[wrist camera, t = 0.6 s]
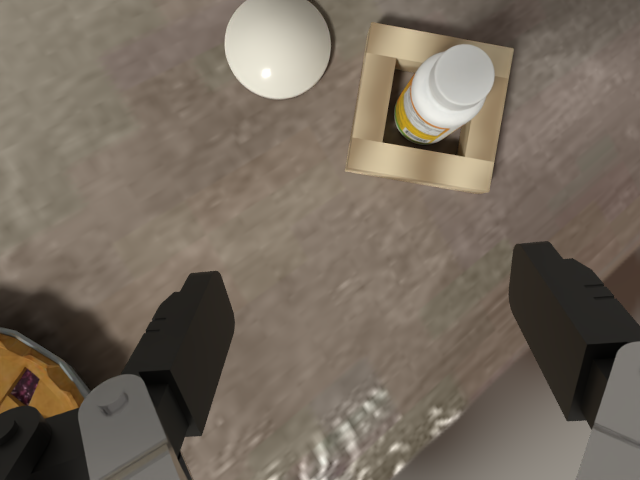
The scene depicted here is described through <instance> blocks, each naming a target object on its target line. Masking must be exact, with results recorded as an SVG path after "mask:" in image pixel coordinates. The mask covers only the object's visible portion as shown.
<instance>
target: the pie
mask: <svg viewBox="0 0 640 480" xmlns="http://www.w3.org/2000/svg"><path fill="white" fill-rule="evenodd" d="M90 392H91V391H90V390H89V388H88V387H87V386H86V385H85V383H84V382H83V381H82V380H81V378H80V377H79V376H78V375H77V373H76V372H75V371H74V369H73V368H72V367H71V366H70V365H69V364H67V363H66V362H65V361H64V360H63V359H61V358H59V357H58V356H56V355H55V354H53V353H51V352H50V351H48V350H46V349H45V348H43V347H42V346H40V345H38V344H37V343H35V342H33V341H32V340H30V339H29V338H27V337H25V336H24V335H22V334H21V333H19V332H17V331H15V330H11V329H6V328H1V327H0V414H1V413H3V412H5V411H7V410H9V409H12V408H15V407H19V406H32V407H35V408H36V409H37V410H38V411H39V412H40V414H41V415H42V416H43V418H44V419H45V418H48V417H52V416H55V415H58V414H61V413H64V412H67V411H70V410H73V409H76V408H79V407H80V406H81V404H82V402H83V400H84V399H85V398H86V396H87V395H88V394H89V393H90Z"/></svg>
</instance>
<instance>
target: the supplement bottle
mask: <svg viewBox="0 0 640 480" xmlns="http://www.w3.org/2000/svg"><path fill="white" fill-rule="evenodd" d="M494 77H495V72H494V66H493V63H492V61H491V59H490V58H489V56H488V55H487V54H486V53H485V52H484V51H483V50H482V49H480V48H478V47H476V46H473V45H469V44H461V45H456V46H453V47H451V48H449V49H448V50H446V51H445V52H440V53H437V54H435V55H433V56H431V57H429V58H428V59H427V60H426V61H424V62H423V63H422V65H421V66H420V67H419V68H418V70H417V71H416V72H415V74H414V75H413V77H412V78H411V80H410V81H409V83H408V84H407V86H406V87H405V89H404V90H403V91H402V93H401V94H400V96H399V98H398V100H397V102H396V105H395V110H394V118H395V123H396V126H397V128H398V130H399V132H400V133H401V134H402V135H403V136H404V137H405V138H406V139H407V140H409V141H411V142H413V143H415V144H420V145H429V144H434V143H436V142H438V141H440V140H442V139H444V138H445V137H447V136H448V135H450V134H451V133H452V132H454V131H455V130H457V129H458V128H460V127H461V126H463V125H465V124H466V123H467V122H469V121H470V120H471V119H472V118H474V117H475V116H476V115H477V114H478V112H479V111H480V110H481V108H482V106H483V104H484V102H485V99H486V96H487V95H488V93H489V92H490V90H491V88H492V86H493V83H494Z"/></svg>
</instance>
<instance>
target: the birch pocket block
mask: <svg viewBox="0 0 640 480" xmlns="http://www.w3.org/2000/svg"><path fill="white" fill-rule="evenodd" d="M461 44H469V45H473V46H476V47H478V48H480V49H482V50H483V51H484V52H485V53H486V54H487V55H488V56H489V58H490V59H491V61H492V63H493V66H494V72H495V77H494V83H493V86H492V88H491V90H490V92H489V93H488V95H487V96H486V99H485V102H484V104H483V106H482V108H481V110H480V111H479V112H478V114H477V115H476V116H475V117H474V118H472V119H471V120H470V121H469V122H467V123H466V124H465V125H463V126H462V127H461V132H460V138H459V144H458V150H457V156H456V155H451V154H445V153H439V152H434V151H428V150H422V149H416V148H411V147H405V146H399V145H393V144H388V143H382V141H383V135H384V129H385V123H386V117H387V111H388V105H389V99H390V93H391V87H392V81H393V75H394V70H395V69H397V70H403V71H408V72H414V73H415V72H416V71H417V70H418V68H419V67H420V66H421V65H422V63H423V62H424V61H426V60H427V59H428V58H429V57H431V56H433V55H435V54H437V53H440V52H445V51H446V50H448V49H449V48H451V47H453V46H456V45H461ZM513 51H514V48H508V47H503V46H498V45H492V44H487V43H481V42H476V41H471V40H465V39H460V38H455V37H449V36H444V35H438V34H433V33H428V32H422V31H417V30H411V29H406V28H401V27H395V26H390V25H384V24H379V23H374V22H371V26H370V29H369V32H368V36H367V42H366V48H365V54H364V60H363V66H362V72H361V78H360V84H359V90H358V96H357V102H356V108H355V114H354V120H353V126H352V132H351V138H350V144H349V150H348V156H347V162H346V168H345V171H347V172H353V173H358V174H364V175H370V176H376V177H382V178H388V179H393V180H399V181H405V182H411V183H417V184H422V185H428V186H434V187H440V188H446V189H452V190H457V191H463V192H469V193H475V194H481V193H486V192H489V189H490V184H491V178H492V172H493V166H494V161H495V155H496V149H497V143H498V137H499V132H500V126H501V120H502V114H503V109H504V103H505V97H506V91H507V85H508V80H509V74H510V68H511V62H512V57H513Z"/></svg>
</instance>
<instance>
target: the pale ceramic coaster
mask: <svg viewBox="0 0 640 480" xmlns="http://www.w3.org/2000/svg"><path fill="white" fill-rule="evenodd" d="M330 50H331V39H330V33H329V30H328V26H327V24H326V22H325V20H324V18H323V16H322V15H321V13H320V12H319V11H318V10H317V8H316V7H315V6H314V5H313V4H311V3H310V2H309V1H307V0H247V1H245V2H244V3H243V4H242V5H241V6H240V7H239V8H238V9H237V10H236V11H235V13H234V14H233V16H232V17H231V19H230V21H229V24H228V27H227V30H226V34H225V52H226V57H227V60H228V63H229V65H230V68H231V70H232V72H233V73H234V75H235V77H236V78H237V79H238V81H239V82H240V83H241V84H242V85H243V86H244V87H245V88H247V89H248V90H249V91H251V92H252V93H254V94H256V95H258V96H261V97H263V98H267V99H273V100H285V99H291V98H295V97H298V96H300V95H302V94H304V93H306V92H307V91H309V90H310V89H311V88H312V87H314V86H315V85H316V84H317V83H318V81H319V80H320V79H321V77H322V76H323V74H324V72H325V70H326V68H327V65H328V62H329V58H330Z"/></svg>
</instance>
